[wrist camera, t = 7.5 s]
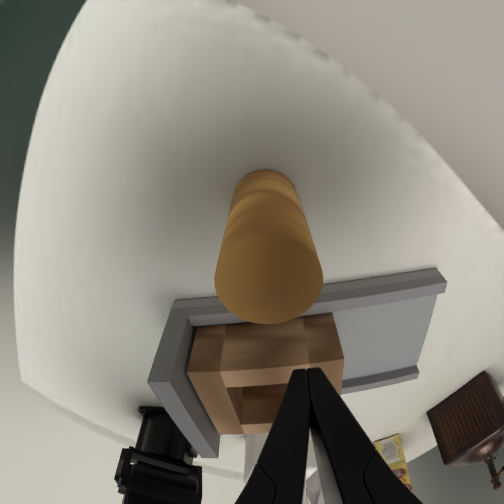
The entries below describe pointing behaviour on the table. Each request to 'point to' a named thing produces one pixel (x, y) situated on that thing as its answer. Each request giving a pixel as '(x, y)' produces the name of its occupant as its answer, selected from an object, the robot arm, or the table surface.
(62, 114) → the table surface
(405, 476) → the candy box
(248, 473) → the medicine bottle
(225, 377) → the block
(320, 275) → the dowel
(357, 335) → the rail board
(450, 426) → the manual coffee grinder
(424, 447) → the table surface
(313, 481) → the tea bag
